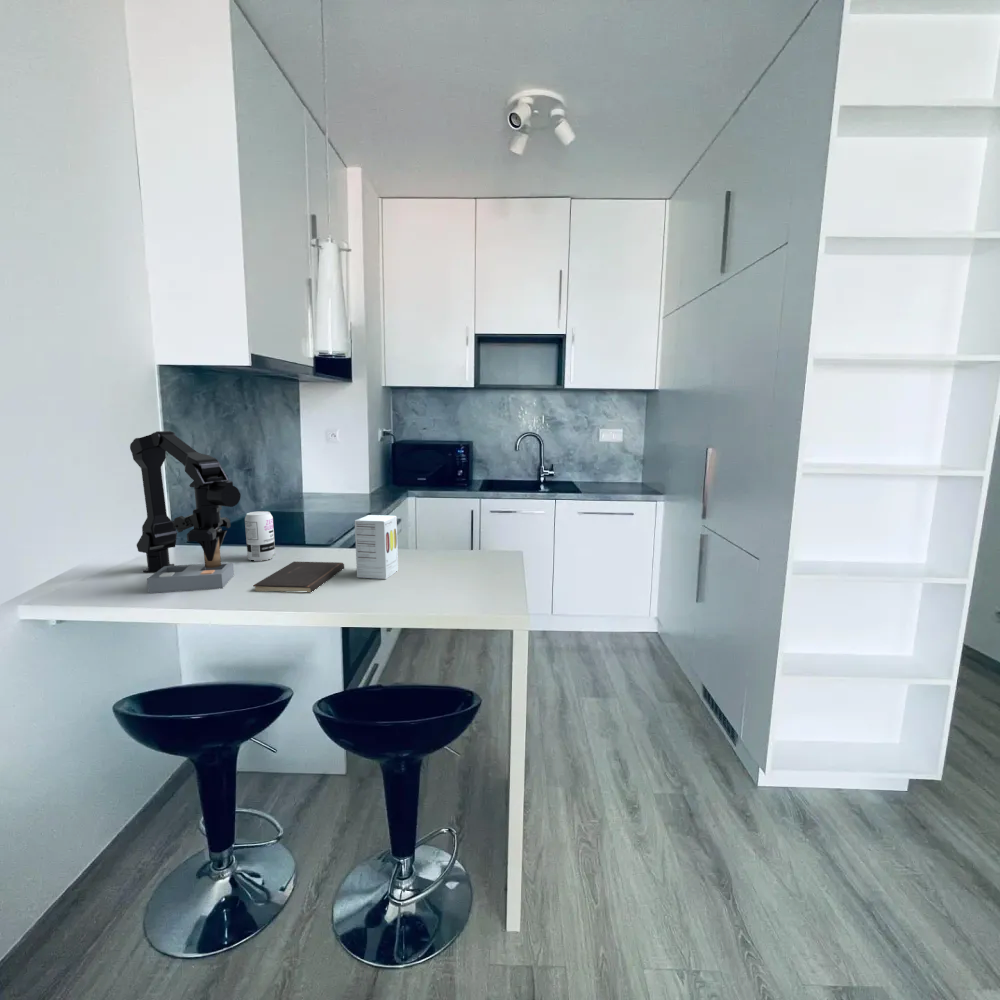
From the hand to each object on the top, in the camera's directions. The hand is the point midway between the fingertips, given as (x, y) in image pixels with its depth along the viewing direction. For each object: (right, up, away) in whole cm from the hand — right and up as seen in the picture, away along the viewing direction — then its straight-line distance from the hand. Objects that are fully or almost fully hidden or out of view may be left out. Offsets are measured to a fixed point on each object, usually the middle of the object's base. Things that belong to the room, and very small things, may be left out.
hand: (212, 558), depth 153 cm
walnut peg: (0, -2, 0) cm, 2 cm away
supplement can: (+3, -3, +24) cm, 25 cm away
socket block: (-5, -7, -1) cm, 8 cm away
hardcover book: (+24, -7, +3) cm, 25 cm away
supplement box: (+45, -5, +7) cm, 46 cm away
